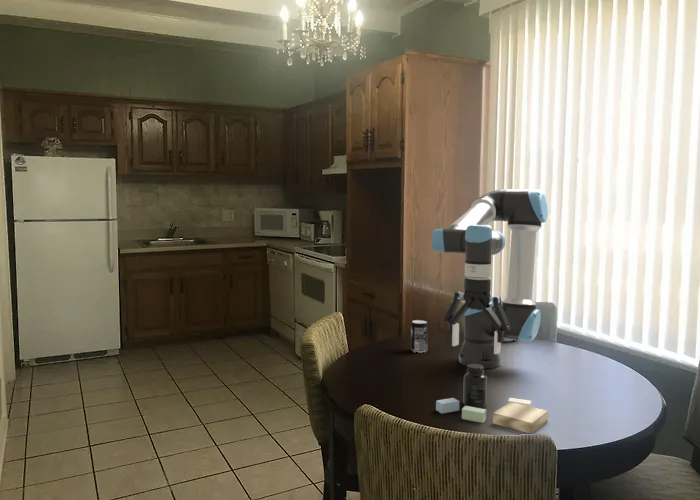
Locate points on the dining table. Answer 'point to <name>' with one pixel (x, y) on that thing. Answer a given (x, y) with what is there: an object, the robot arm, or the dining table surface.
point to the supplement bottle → (475, 386)
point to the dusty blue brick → (447, 405)
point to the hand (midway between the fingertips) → (475, 349)
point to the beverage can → (419, 336)
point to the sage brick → (474, 414)
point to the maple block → (520, 417)
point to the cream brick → (520, 401)
